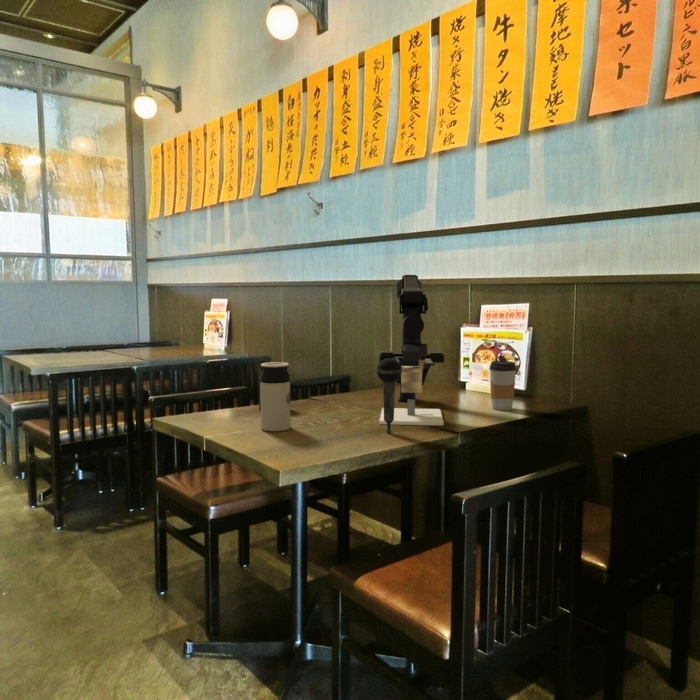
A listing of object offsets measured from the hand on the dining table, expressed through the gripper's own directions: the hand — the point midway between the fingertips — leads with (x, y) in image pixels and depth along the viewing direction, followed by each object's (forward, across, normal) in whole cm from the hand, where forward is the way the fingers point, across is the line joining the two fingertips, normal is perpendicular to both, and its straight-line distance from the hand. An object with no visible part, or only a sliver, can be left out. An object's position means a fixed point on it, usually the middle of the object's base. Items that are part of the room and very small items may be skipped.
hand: (411, 385), depth 169 cm
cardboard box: (+2, 0, 0) cm, 2 cm away
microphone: (+10, -6, -19) cm, 22 cm away
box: (+10, -44, +9) cm, 46 cm away
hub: (+10, 0, 0) cm, 10 cm away
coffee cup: (+10, +29, +16) cm, 35 cm away
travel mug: (+10, -37, -17) cm, 42 cm away
